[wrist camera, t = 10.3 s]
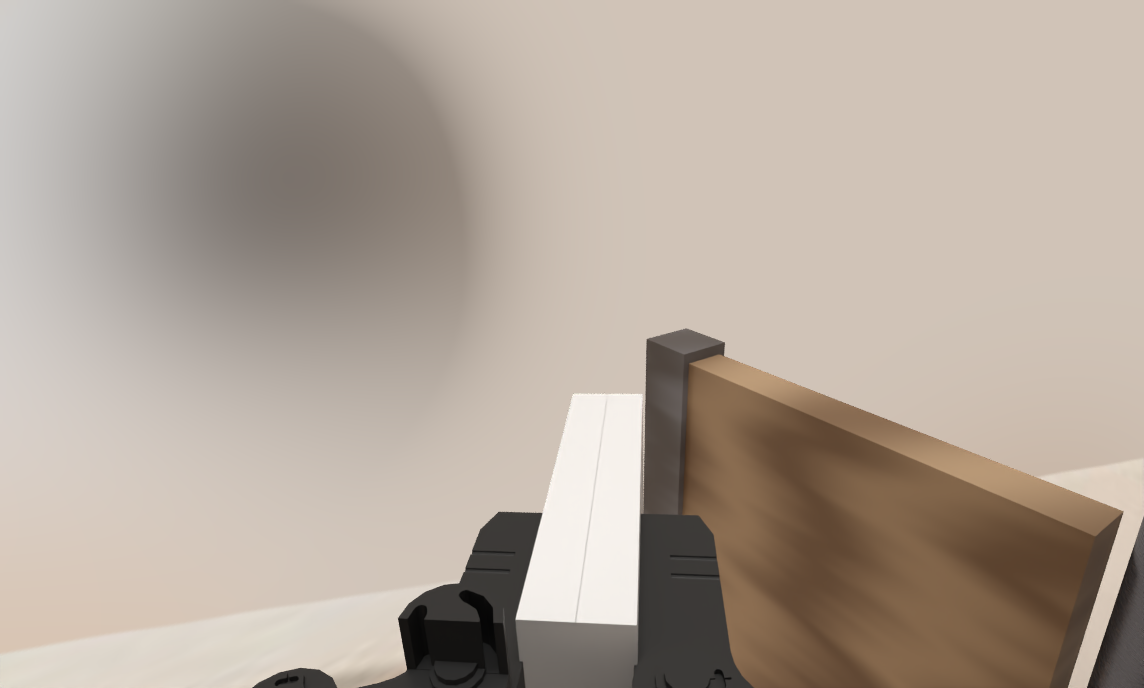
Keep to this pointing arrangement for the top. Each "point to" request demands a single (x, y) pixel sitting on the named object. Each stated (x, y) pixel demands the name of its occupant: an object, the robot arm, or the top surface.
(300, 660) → the top surface
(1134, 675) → the gate post
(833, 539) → the gate
